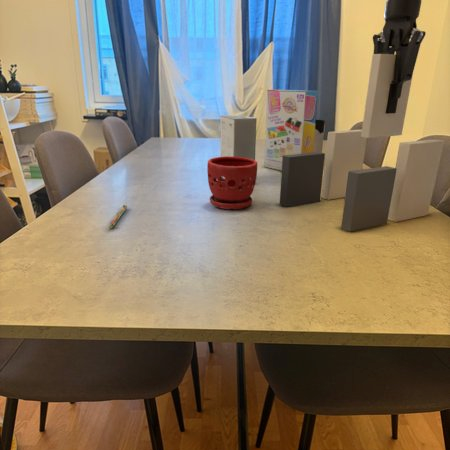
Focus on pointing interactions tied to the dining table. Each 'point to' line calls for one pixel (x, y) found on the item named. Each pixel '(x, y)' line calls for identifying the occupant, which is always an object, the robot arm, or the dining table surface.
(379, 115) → the white book
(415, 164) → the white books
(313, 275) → the dining table surface
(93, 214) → the dining table surface
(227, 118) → the hard drive box
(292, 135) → the game box
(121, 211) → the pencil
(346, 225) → the grey books
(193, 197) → the dining table surface
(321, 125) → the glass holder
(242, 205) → the flower pot
